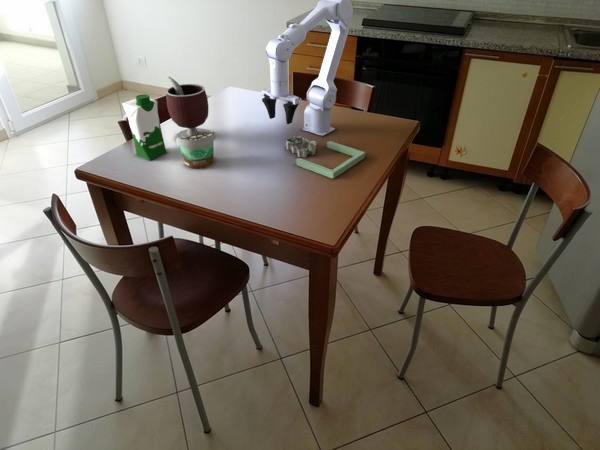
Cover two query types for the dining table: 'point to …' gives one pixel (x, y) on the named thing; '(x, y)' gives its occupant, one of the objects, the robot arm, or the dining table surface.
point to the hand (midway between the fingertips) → (280, 120)
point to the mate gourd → (187, 107)
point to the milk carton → (145, 126)
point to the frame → (339, 169)
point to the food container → (197, 150)
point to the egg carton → (301, 146)
